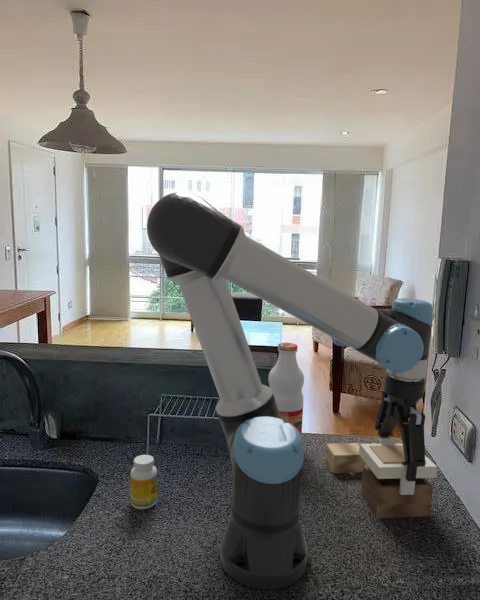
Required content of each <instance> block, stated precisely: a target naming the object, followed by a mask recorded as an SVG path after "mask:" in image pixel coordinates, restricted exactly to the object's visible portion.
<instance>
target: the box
mask: <svg viewBox="0 0 480 600" xmlns="http://www.w3.org/2000/svg"><path fill="white" fill-rule="evenodd" d="M361 474H362V475H361V487H360V494H361V495H362V497H363V499H364V500H365V501H366V503H367V505H368V506H369V508H370V510H371V511H372V512H373V513H374V515H375V517H376V518H377V519H390V518H391V519H393V518H396V519H397V518H414V517H430V516H431V508H432V500H433V491H434V490H433V489H434V486H433V485H432V483H430V481H428V480H427V478H416V480H415V488H414V495H400V493H399V488H400V479H401V478H397V479H378V478H377V477H376V476H375V474H374V473H373V472H372V470H371V469H370V468H369V467H368V465H367V464H366V465H363V472H361Z"/></svg>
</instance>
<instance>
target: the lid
mask: <svg viewBox="0 0 480 600" xmlns="http://www.w3.org/2000/svg"><path fill="white" fill-rule="evenodd" d="M359 445H360V448H359V455H360V456H361V458H362V459H363V460H364V461H365V463H366V465H368V467H369V468H370V469H371V470H372V472H373V473H374V474H375V476H376V477H377V478H378V479H397V478H401V470H402V462H405V457H404V449H403V442H402V443H392V444H379V443H359ZM437 469H438V466H437V465H436V464H435V463H434V462H433V461H432V460H431V459H430V458H429V457H427V455H425V466H424V467H417V473H416V478H425V479H436V478H437Z"/></svg>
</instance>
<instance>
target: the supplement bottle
mask: <svg viewBox="0 0 480 600" xmlns="http://www.w3.org/2000/svg"><path fill="white" fill-rule="evenodd" d="M129 476H130V477H129V478H130V505H131V506H132V507H133V508H134V509H137V510H147V509H150V508H152V507H154V505H156V503H157V501H158V469H157V468H156V466H155V458H154V457H153V456H152V455H149V454H141V455H137V456H136V457H134V458H133V467H132V469H131V470H130V475H129Z"/></svg>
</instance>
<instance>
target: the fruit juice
mask: <svg viewBox="0 0 480 600" xmlns="http://www.w3.org/2000/svg"><path fill="white" fill-rule="evenodd" d="M277 351H278V356H277V361H276V363H275V365H274V366H273V367H272V368H271V370H270V371H269V373H268V378H267V380H268V384H269V387H270V388H271V390H272V392H273V395H274V398H275V401H276V404H277V407H278V410H279V413H280V416H281V418H282V420H284V421H285V423H290V424H292V425H293V426H294V427H295V428H296V429H297V430H298V431H299V432H300V434H301V436H302V433H303V415H304V414H303V413H304V395H303V392H302V389H303V387H304V384H305V376H304V373H303V370H301V368H300V366H299V364H298V362H297V352H298V344H296V343H293V342H280V343H279V344H278V345H277ZM302 437H303V436H302Z"/></svg>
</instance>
